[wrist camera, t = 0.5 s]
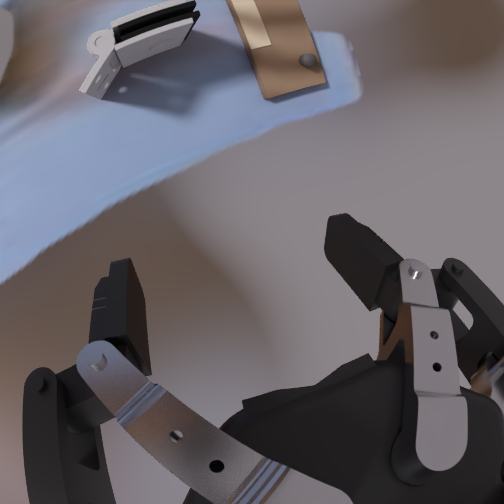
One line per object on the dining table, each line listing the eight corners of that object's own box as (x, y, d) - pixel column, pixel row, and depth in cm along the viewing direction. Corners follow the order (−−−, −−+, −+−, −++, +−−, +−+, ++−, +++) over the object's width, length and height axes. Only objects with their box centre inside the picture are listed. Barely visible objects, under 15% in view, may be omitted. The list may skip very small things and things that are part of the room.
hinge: (99, 101, 27) (82, 96, 19) (79, 73, 24) (56, 59, 16) (190, 41, 27) (206, 16, 19) (170, 13, 24) (180, -19, 16)
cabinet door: (208, -37, 21) (214, -46, 19) (271, -43, 22) (280, -51, 20) (263, 98, 34) (273, 98, 32) (320, 82, 36) (332, 82, 33)
